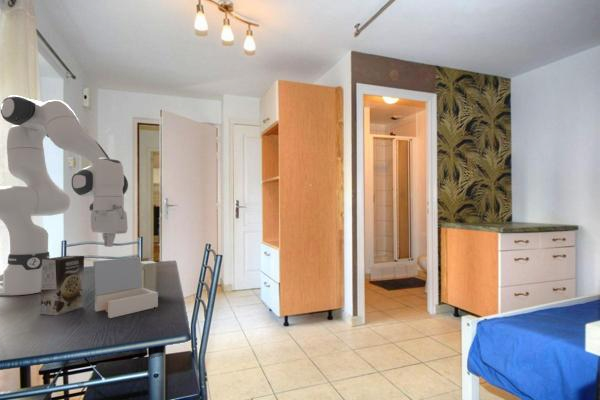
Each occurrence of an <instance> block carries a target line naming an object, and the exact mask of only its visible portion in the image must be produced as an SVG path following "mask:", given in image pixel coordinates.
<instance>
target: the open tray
mask: <svg viewBox="0 0 600 400" xmlns="http://www.w3.org/2000/svg"><path fill="white" fill-rule="evenodd" d="M106 302H108V312H107V318H108V319H112V318H116V317H120V316H125V315H128V314H133V313H137V312H141V311H145V310H149V309H154V307H155V308H158V307H159V305H158V304H159V292H158V291H156V292H155V291H152V290H149V289H145V288H142V287H140V288H135V289H129V290H124V291H118V292H113V293H107V294H102V295H97V296H95V295H94V311H95V312H96V313H97V312H102V311H106Z"/></svg>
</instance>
